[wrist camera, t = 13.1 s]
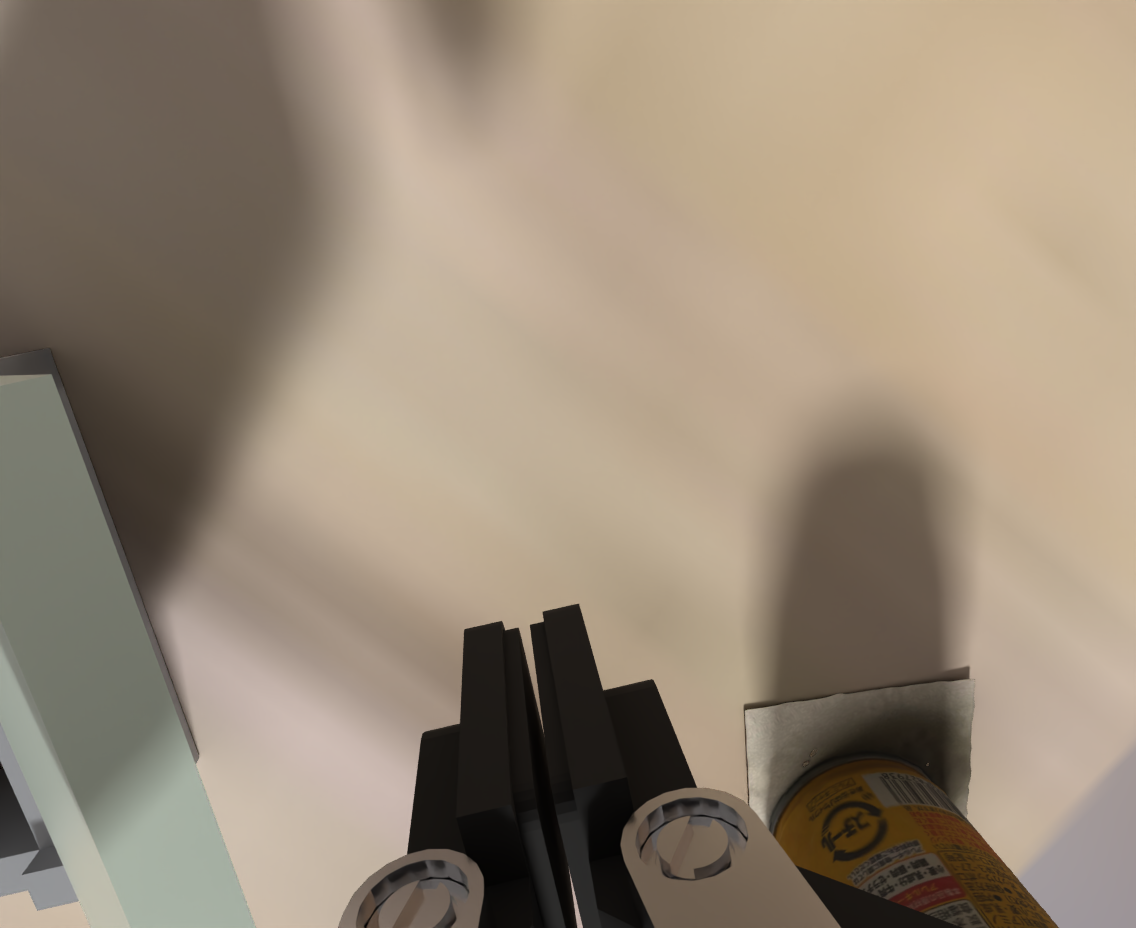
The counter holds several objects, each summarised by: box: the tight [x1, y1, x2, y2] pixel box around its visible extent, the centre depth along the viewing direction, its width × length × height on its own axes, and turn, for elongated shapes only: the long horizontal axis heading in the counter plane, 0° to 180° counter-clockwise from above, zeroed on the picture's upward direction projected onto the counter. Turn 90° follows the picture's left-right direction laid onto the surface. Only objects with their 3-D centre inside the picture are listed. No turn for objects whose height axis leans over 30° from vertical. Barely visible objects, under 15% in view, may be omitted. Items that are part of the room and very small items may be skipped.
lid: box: [0, 374, 256, 928], centre depth 12 cm, size 12×11×1 cm
